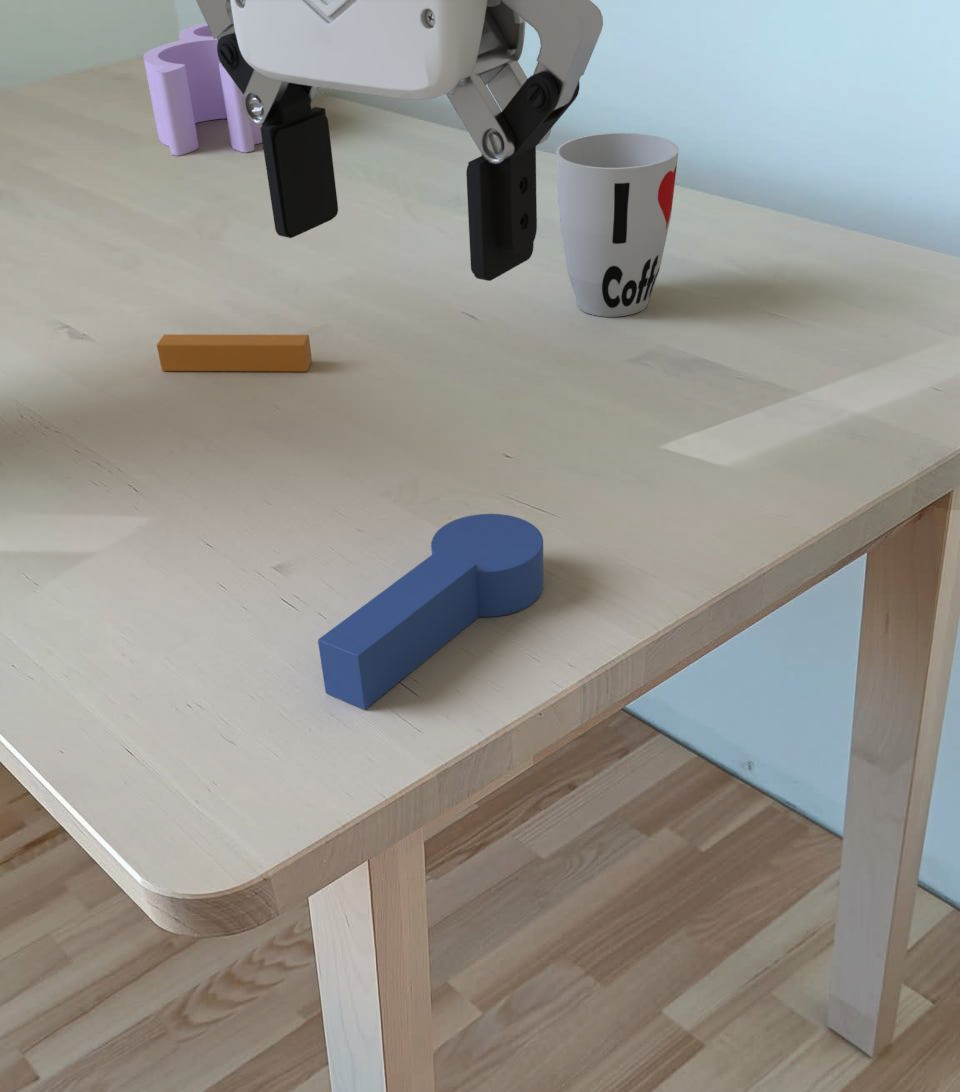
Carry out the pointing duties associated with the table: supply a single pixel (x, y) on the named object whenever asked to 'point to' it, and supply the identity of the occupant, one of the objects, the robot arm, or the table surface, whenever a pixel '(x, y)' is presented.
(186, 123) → the clip
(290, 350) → the bar
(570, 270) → the cup
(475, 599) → the spoon
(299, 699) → the table surface
